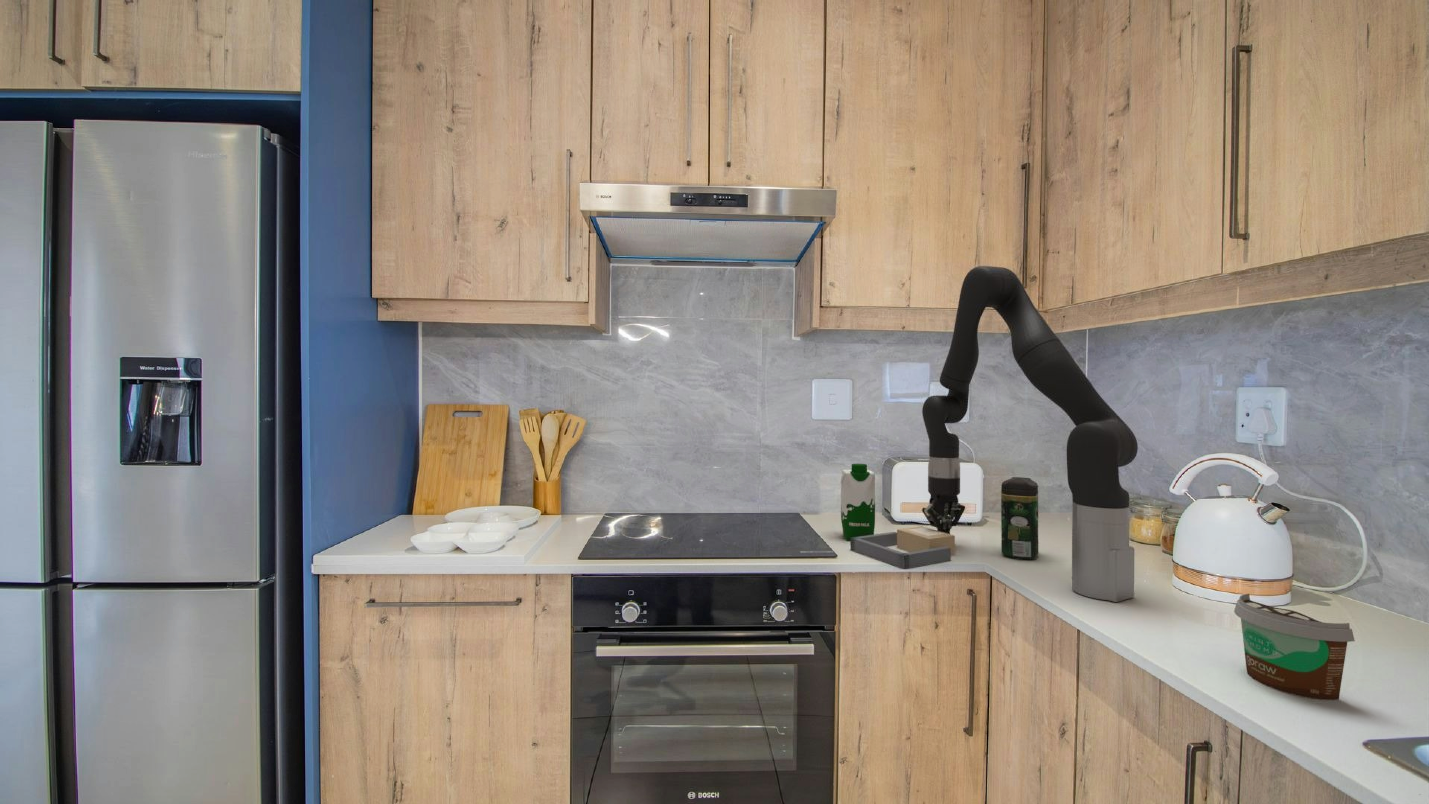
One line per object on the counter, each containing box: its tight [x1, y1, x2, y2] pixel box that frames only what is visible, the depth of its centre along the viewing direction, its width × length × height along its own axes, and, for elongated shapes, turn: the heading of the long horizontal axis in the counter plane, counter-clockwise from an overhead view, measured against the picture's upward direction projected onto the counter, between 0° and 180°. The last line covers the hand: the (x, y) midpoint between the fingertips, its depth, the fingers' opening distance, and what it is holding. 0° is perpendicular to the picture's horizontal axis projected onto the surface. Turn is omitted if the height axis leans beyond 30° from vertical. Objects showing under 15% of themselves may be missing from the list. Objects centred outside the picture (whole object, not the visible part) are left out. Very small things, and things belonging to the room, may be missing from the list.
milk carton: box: [840, 463, 876, 542], centre depth 158 cm, size 9×9×20 cm
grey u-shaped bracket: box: [850, 531, 952, 570], centre depth 141 cm, size 18×14×3 cm
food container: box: [1233, 593, 1355, 701], centre depth 78 cm, size 12×6×10 cm, turn 13°
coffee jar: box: [1000, 476, 1039, 560], centre depth 141 cm, size 10×8×19 cm
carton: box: [896, 526, 956, 557], centre depth 144 cm, size 11×8×5 cm
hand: (943, 543), depth 148 cm, fingers closed
